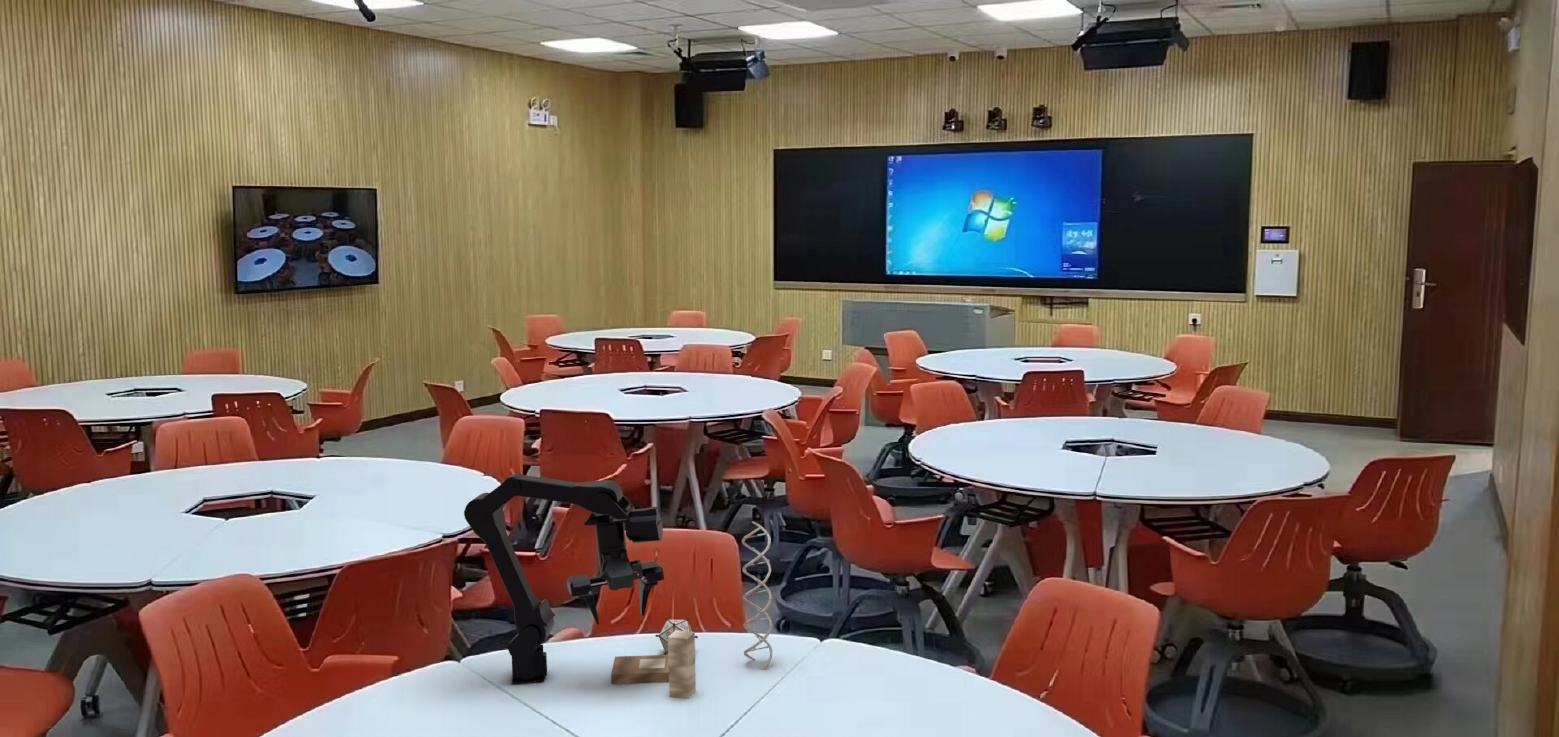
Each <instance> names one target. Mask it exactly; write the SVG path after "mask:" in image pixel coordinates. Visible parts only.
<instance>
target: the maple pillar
mask: <svg viewBox="0 0 1559 737" xmlns="http://www.w3.org/2000/svg"><path fill="white" fill-rule="evenodd" d="M695 636H696V635H695V631H693V632H689V631H678V630H675V631H674V632H673V633H672V634H671V635H670V636H668V653H667V655H668V663H669V682H668V694H669V695H668V696H669V698H679V699H690V698H691V697H692V696H693V695H694V693H696V691H697V689H696V688H697V684H696V683H697V682H696V678H697V677H696V642H695V641H696V638H695Z"/></svg>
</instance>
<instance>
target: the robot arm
mask: <svg viewBox="0 0 1559 737" xmlns="http://www.w3.org/2000/svg"><path fill="white" fill-rule="evenodd" d="M515 497H522V498H523V497H524V498H531V499H538V500H545V501H550V502H560V503H565V504H566V503H567V504H572V505H575V506H578V507H580V508H582V509H583V510H586V511H589V512H591V513H590V514H589V517H588V518H587V519H586V520H585V521H584V524H583V525H584V526H586V527H587V526H594V528H595V529H594V530H595V537H596V538H595V540H596V545H597V547H596V548H597V555H598V564H599V572H600V575H599V576H594V577H589V576H588V574H587V573H583V574H576V575H571V576H569V577H568V578H567V580H566V585H567V591H568V593H569V595H571V597H577V599H579V600H584V601H585V603H586V604H587V605H586V606H587V607H588V609H589V611H590V614H591V616H592V617H593V619H594V622H595V624H596V625H598V626H599V625H600V622H599V614H598V610H597V606H596V603H595V597H594V593H593V591H592V588H595V587H597V588H598V587H601V586H606V585H608V588H609V590H610V591H613V592H614V591H615V592H616V591H618V590H622V589H626V588H627V589H631V588H633V587H634V584H635V580H638V596H639V611H640V615H641V617H644V616H645V613H646V609H647V603H648V599H649V596H650V593H651V591H652V589H653V588H654V586H658V584H659V582H660V581H663V580H665V575H664V573H665V572H664V569H663V567H662V566H661V565H660V564H659V563H658V562H657V561H655V560H654V561H648V562H643V563H642V562H641V559H635V560H632V561H631V560H630V559H629V557H628V556H629V555H628V550H627V549H628V548H627V542H626V538H627V539H628V540H629V541H631V542H632V543H633V544H637V543H639V544H640V543H648V542H661V541H662V540H663V535H664V533H663V532H664V530H663V529H664V528H663V527H664V526H663V520H662V518H661V515H660V512H659V508H658V506H651V507H646V508H635V506H634V505H633V504H632V503H631V501H629V500H628V498H627V497H626V496H625V495H624V494H623V490H622V487H621V486H620V484H619V483H618V482H616V481H614V480H609V479H608V480H607V479H606V480H605V479H604V480H603V479H602V480H591V481H584V482H583V481H580V482H577V481H576V482H575V481H569V480H562V479H554V478H548V477H539V476H532V475H527V474H522V473H518V472H516V473H513V474H511V475H509V477H506V478H505V480H504V481H503V482H502V483H501V484H500V485H498V486H497V487H496V488H495V489H493V490H492V491H491V492H482V493H481V494H479V495H477V496H475V497H474V498H473V499H472V500H470V501H469V502H467V504H466V506H465V508H464V511H463V516H464V520H465V521H466V522H467V524H468V526H469V527H470V528H471V530H472V531H473V533H474V534H475V535H476V536H478V538H479V539H480V540H482V541H483V543H484V544H485V546H486V548H487V550H488V552H489V555H490V556H491V559H492V561H493V563H494V565H495V567H496V570H497V572H498V575H499V577H500V579H501V581H502V583H503V586H504V588H505V589H506V590H505V591H506V593H507V595H508V596H509V599H510V600H511V603H512V606H513V613H514V616H513V617H514V625H515V627H516V632H517V634H516V635H515V636H514V637H513V638H512V639H511V640H510V642H509V643H508V644H507V646H506V648H507V651H508V652H509V655H510V656H511V673H512V676H511V684H512V685H519V684H529V683H530V684H532V683H542V682H545V678H546V676H547V675H548V661H547V660H548V656H547V652H546V651H544V644H543V643H544V641H545V640H546V639H547V638H548V636H549V635H550V634H551V633H552V631H553V628H554V625H555V619H554V617H556V614H555V613H554V612H553V611H552V609H551V607H550V606H551V605H550V602H549V600H548V598H545V599H543V600H540V598H538V597H537V596H536V595H535V593H534V591H533V589H532V588H531V585H530V582H529V581H528V578H527V576H526V573H525V571H524V569H523V566H522V565H521V562H520V560H519V558H518V556H517V553H516V551H515V550H514V547H513V545H512V542H511V541H510V537H509V536H508V534H507V533H508V532H507V527H506V515H505V510H504V508H503V506H505V505H506V504H507V503H508V502H509V501H510V500H512V499H514V498H515Z"/></svg>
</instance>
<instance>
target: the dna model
mask: <svg viewBox="0 0 1559 737" xmlns="http://www.w3.org/2000/svg"><path fill="white" fill-rule="evenodd" d="M751 523H752V524H753V525H755V526H756V527H757V528H755V529H754V530H753V531H751V532H750V533H748V534H746V535H744V536H743V538H742V539H741V544H742V545H743V546H744V547H745V548H748V550H750V551H752V552H754V553H755V554H757V556H756V557H755V558H753V559H751V560H750V561H749V562H748V563H746V564H744V566H742V571H741V572H743V573H744V574H745V575H746V576H748V577H750V578H751V579H753V580H754V581H755V582H756V583H757V585H756V586H755V587H754V588H752V589H750V590H749V591H747V592H746V593H743V596H742V600H743V601H744V602H745V603H747V604H748V605H750V606H752V607H754V608H755V609H756V610H757V611H758V613H757V614H756V615H755V616H753V617H751V618H750V619H748V620H746V621H745V622H744V623H743V624H742V625H743V628H744V629H745V630H746V631H748V632H750V633H751V634H753V635H755V637H756V638H757V639H758V641H757V642H756V643H754V644H753V645H752V646H750V647H748V648H747V649H745V650H744V651H743V655H744V656H745V657H746V658H749V659H750V660H752V661H755V658H754V657H752V656H751V655H749V653H750V652H753V651H758V650H762V649H769V657H768V659H767V660H766V662H765V664H764V665H763V666H762V667H761V670H765V669H766V668H767V667H768V666H769V664H770V662H771V660H772V659H773V655H774V654H773V647H772V645H771V644H770V642H769V641H768V640H767V638H769V636H770V634H771V630H772V628H773V622H772V618H771V617H770V616H769V614H768V612H766V611H767V610H768V609H769V607H770V606H771V603H772V592H771V589H770V588H769V587H768V586H767V585H766V583H767V581H768V579H769V578H770V575H771V573H772V568H771V567H772V566H771V563H770V562H771V559H768V558H766V556H764V555H765V554H766V553H767V551H768V550H769V549H770V547H771V542H772V541H771V540H772V539H771V536H770V534H769V532H768V531H767V530H766V529H765V528H764V527H763V526H762V525H760V524H759V523H757V522H755V521H753V520H752V521H751ZM759 530H761V531H763V533H758V534H756V533H757V532H758V531H759ZM754 534H756V537H760V536H765V535H766V537H767V546H766V547H765V549H763V551H762V552H760V551H759V550H757V549H756V548H755V547H754V546H753V547H752V546H750V545H749V544H747V542H745V541H746V539H749V538H754V537H755V535H754ZM759 559H763V561H760V562H758V563H757V562H756V561H758V560H759ZM755 562H756V564H755ZM760 564H766V565H767V566H768V571H767V574H766V576H765V578H764V580H760V579H759V578H757V577H756V576H755V575H752V574H751V573H749V572H747V569H746V568H748V567H752V566H756V565H760ZM760 587H763V588H764V589H763V590H759V591H758V592H757V593H758V594H759V593H763V592H767V594H768V601H767V603H766V606H765V607H763V608H761V607H760V606H759V605H757V604H756V603H753V602H752V601H750V600H749V599H747V597H748V596H750V595H754V594H756V592H754V591H756V590H758V589H759V588H760ZM761 615H764V616H765V617H763V618H759V619H758V622H759V621H763V620H767V621H768V622H769V626H768V630H767V632H766V633H765V634H764V636H763V635H760V634H759V633H758V632H756V631H755V630H753V629H751V628H749V627H748V626H747V625H748V624H752V623H755V622H757V618H758V617H760V616H761ZM762 643H765V644H766V646H762V647H758V646H759V645H760V644H762ZM756 647H758V648H756Z"/></svg>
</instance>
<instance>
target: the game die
mask: <svg viewBox="0 0 1559 737" xmlns="http://www.w3.org/2000/svg"><path fill="white" fill-rule="evenodd" d="M664 617H665V620H666V621H665V622H664V624H663V627H662V629H661V630H660V632H659V634H655V635H654V636H655V637H656V638H658V639H659V641H660V643H661V645H662V648H663V650H664V651H665V652H664V653H663V655H668V636H670V635H671V634H672V633H673V632H674V631H675V630H678V631H689V632H694V631H693V630H692V627H691V624H690V622H689V620H690V618H691V616H688V617H687V618H686V619H677V618H676V619H672V618H671V619H670V618H669V617H668V616H666V615H665V616H664ZM698 638H699V636H698V635H695V639H698Z"/></svg>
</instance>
